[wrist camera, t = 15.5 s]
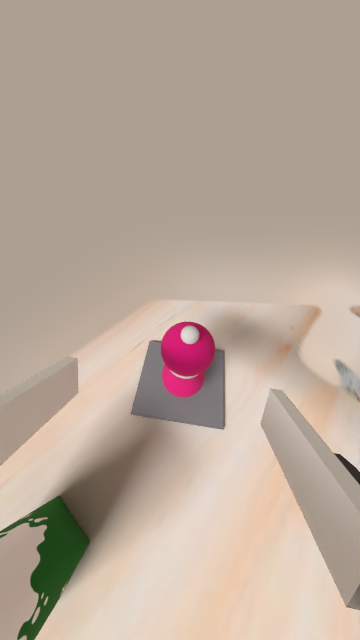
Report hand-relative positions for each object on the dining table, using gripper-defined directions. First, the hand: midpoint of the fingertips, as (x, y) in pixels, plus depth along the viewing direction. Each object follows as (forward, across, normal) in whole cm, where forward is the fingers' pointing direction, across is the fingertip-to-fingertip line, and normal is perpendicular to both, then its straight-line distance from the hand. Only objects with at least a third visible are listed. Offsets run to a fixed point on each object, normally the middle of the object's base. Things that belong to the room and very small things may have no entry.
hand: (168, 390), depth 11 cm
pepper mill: (+19, +1, -11) cm, 22 cm away
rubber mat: (+19, +1, -12) cm, 23 cm away
